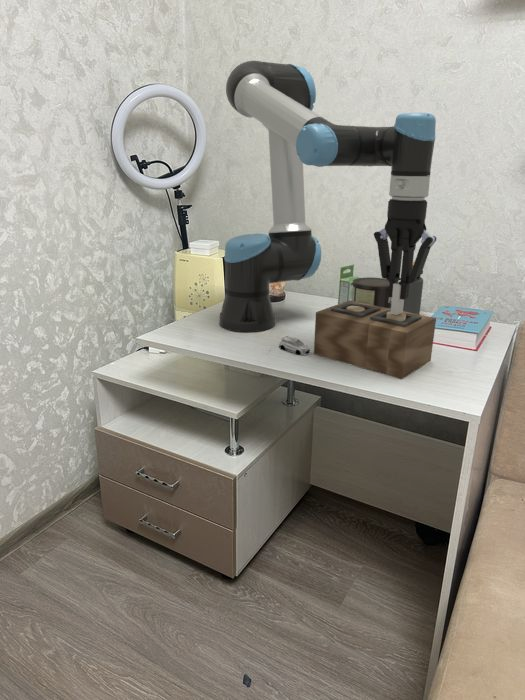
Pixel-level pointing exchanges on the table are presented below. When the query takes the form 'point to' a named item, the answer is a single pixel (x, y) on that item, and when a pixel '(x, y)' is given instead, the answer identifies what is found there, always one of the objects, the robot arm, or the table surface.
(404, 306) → the bottle
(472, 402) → the table surface
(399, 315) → the dowel
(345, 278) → the ink box
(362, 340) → the socket block
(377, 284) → the coffee can
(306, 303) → the table surface
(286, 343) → the toy car
